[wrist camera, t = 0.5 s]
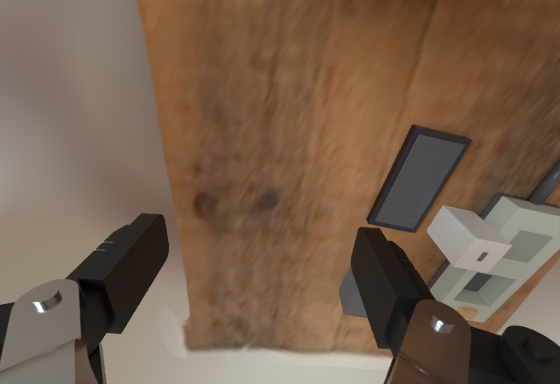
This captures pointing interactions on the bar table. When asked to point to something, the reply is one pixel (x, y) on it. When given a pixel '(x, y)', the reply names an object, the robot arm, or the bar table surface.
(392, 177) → the phone
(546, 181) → the strip
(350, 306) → the plug
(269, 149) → the bar table surface
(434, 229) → the charger
